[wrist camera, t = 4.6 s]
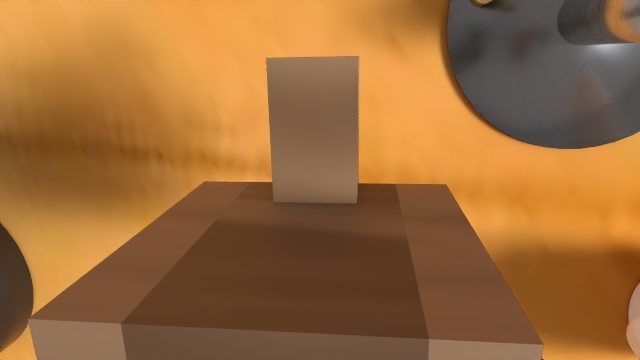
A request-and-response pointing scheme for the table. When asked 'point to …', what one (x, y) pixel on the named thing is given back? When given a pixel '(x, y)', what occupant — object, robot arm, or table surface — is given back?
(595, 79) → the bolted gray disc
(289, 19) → the table surface
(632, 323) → the mug
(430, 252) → the collar
